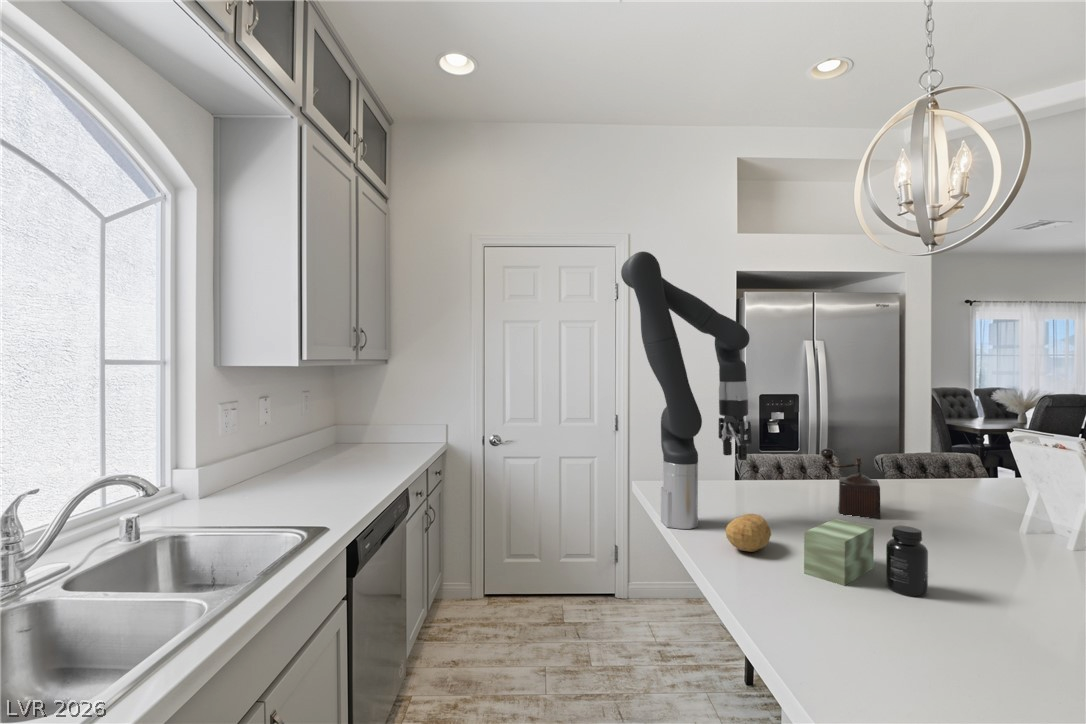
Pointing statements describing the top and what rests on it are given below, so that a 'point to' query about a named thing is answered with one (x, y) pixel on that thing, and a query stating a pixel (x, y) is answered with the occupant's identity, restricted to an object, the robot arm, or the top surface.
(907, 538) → the supplement bottle
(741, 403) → the robot arm
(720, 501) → the top surface
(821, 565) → the sage-green block
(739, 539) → the potato
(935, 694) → the top surface
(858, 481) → the wooden coffee grinder
